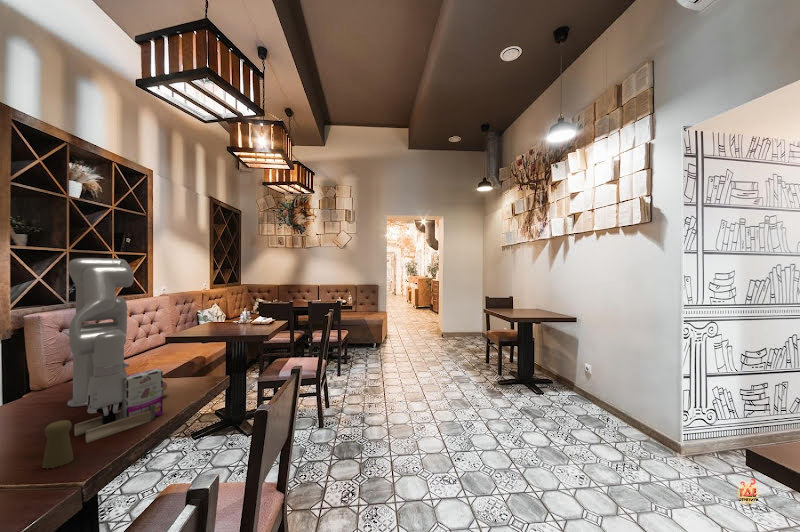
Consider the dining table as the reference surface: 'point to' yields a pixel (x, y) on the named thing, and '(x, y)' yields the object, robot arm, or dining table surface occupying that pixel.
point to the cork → (58, 444)
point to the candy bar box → (142, 393)
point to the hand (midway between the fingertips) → (109, 425)
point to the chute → (112, 425)
